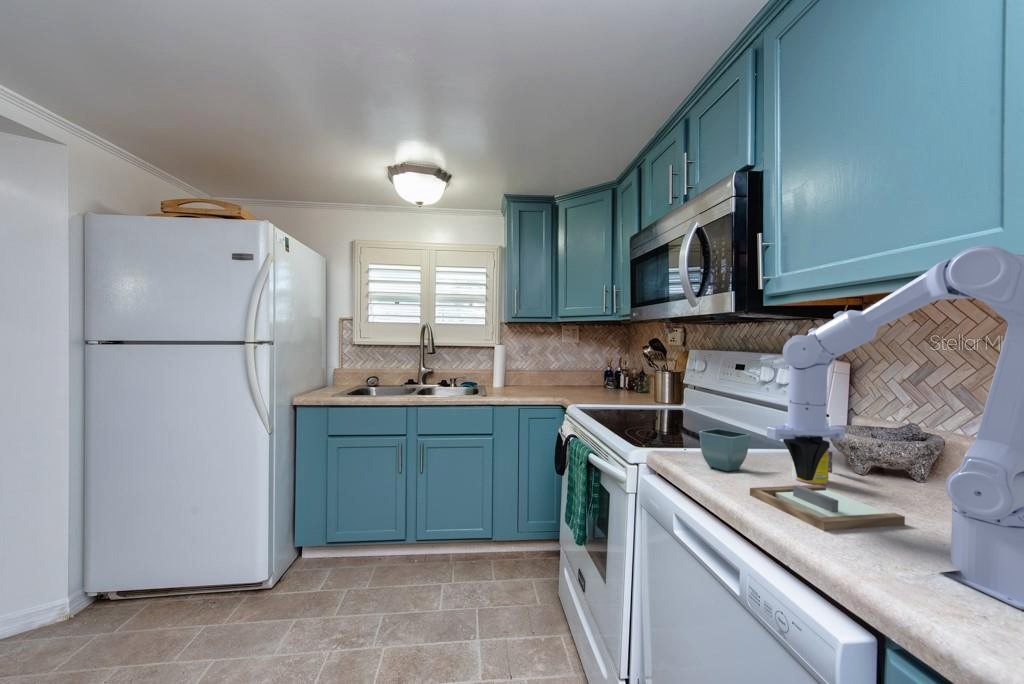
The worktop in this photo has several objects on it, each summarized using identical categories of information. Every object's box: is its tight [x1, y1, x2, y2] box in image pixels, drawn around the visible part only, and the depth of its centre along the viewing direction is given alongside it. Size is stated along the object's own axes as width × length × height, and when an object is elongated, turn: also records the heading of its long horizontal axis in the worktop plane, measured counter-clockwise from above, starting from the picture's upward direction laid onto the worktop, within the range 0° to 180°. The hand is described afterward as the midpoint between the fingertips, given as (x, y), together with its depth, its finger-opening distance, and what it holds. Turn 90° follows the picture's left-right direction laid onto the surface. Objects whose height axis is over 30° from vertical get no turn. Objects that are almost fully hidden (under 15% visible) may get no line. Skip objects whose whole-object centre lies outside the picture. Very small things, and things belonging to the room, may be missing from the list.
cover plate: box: [776, 484, 889, 517], centre depth 78 cm, size 12×12×3 cm
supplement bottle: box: [791, 449, 829, 486], centre depth 95 cm, size 7×7×13 cm
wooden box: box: [749, 484, 906, 532], centre depth 77 cm, size 16×16×3 cm
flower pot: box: [698, 428, 751, 472], centre depth 108 cm, size 9×9×9 cm
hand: (804, 478), depth 77 cm, fingers closed
